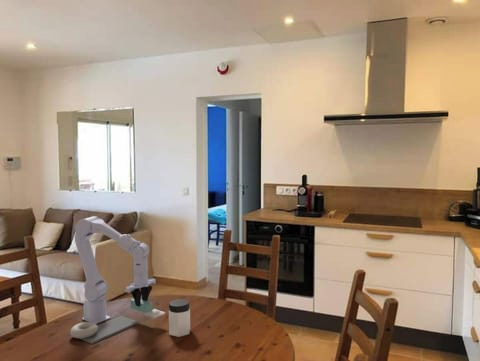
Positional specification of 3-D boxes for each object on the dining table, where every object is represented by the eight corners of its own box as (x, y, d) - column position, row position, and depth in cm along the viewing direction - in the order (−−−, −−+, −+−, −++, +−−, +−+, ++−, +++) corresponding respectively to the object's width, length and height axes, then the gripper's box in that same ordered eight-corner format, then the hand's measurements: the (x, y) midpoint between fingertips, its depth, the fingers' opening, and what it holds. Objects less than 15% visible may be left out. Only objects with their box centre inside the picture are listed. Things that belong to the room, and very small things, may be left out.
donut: (81, 333, 146) (64, 328, 151) (82, 342, 146) (64, 336, 151) (103, 323, 155) (86, 318, 160) (103, 331, 155) (86, 327, 160)
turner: (127, 308, 166) (127, 300, 166) (138, 304, 171) (138, 296, 171) (154, 318, 157) (154, 310, 157) (165, 313, 162) (165, 305, 162)
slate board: (74, 336, 153) (74, 334, 153) (121, 317, 171) (121, 315, 171) (91, 344, 146) (91, 342, 146) (138, 323, 164) (138, 321, 164)
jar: (170, 327, 160) (170, 298, 160) (191, 327, 161) (190, 298, 160) (167, 337, 152) (167, 306, 151) (189, 336, 152) (188, 306, 151)
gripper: (133, 278, 157) (133, 312, 157) (160, 270, 168) (160, 301, 169) (121, 275, 161) (122, 308, 161) (149, 267, 172) (149, 298, 173)
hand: (141, 304), depth 166 cm, fingers closed on turner, 3 cm apart
